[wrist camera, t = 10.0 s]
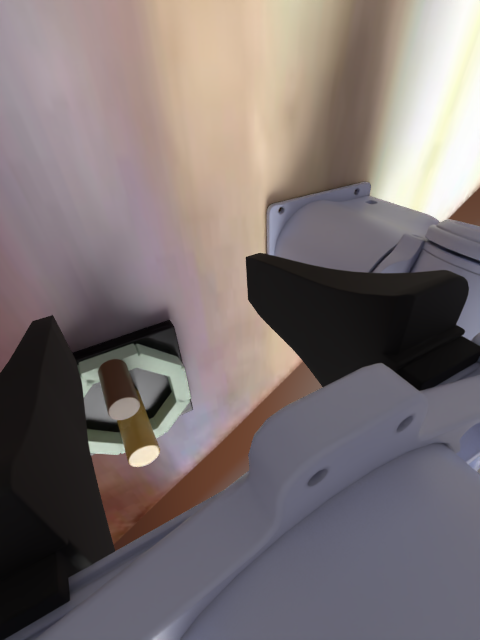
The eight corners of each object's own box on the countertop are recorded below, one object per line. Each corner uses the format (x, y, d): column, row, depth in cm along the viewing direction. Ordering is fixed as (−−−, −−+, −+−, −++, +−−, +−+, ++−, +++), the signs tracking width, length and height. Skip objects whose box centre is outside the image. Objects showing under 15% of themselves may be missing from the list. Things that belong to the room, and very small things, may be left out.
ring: (191, 410, 29) (213, 453, 26) (82, 459, 26) (91, 516, 22) (171, 325, 23) (196, 367, 20) (28, 375, 20) (29, 435, 17)
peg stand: (170, 319, 24) (204, 375, 19) (189, 402, 30) (219, 461, 25) (27, 367, 21) (27, 449, 16) (79, 450, 27) (91, 528, 22)
